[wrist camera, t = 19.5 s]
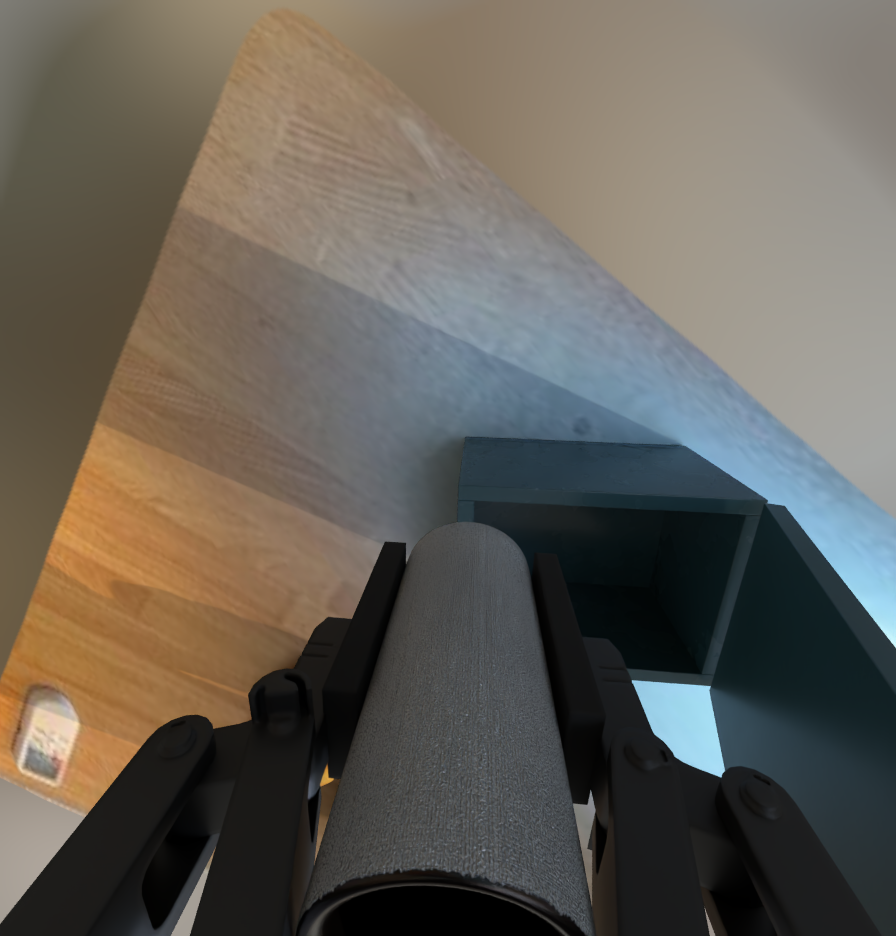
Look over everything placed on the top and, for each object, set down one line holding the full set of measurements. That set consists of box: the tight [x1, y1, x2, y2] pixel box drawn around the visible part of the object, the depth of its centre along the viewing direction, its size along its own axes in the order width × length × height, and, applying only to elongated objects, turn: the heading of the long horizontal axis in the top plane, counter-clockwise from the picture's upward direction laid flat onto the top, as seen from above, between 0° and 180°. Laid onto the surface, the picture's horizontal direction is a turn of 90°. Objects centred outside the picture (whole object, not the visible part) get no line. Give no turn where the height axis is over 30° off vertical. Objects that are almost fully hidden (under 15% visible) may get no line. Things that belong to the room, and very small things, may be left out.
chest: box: [457, 437, 768, 686], centre depth 33 cm, size 18×14×11 cm
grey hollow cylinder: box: [295, 522, 597, 936], centre depth 11 cm, size 4×4×10 cm
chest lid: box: [710, 503, 896, 936], centre depth 18 cm, size 19×14×7 cm
